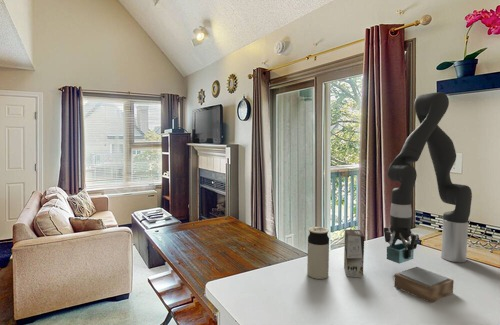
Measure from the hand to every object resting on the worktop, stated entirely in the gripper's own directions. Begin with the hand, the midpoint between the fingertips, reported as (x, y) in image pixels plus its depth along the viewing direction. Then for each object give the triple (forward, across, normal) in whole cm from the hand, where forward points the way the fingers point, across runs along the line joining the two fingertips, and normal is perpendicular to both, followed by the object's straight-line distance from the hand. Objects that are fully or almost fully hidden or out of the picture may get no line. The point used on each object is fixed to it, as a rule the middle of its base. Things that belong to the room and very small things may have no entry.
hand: (399, 256), depth 122 cm
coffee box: (+6, +8, +18) cm, 20 cm away
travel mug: (+5, +13, +32) cm, 35 cm away
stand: (+6, -14, +8) cm, 17 cm away
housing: (+1, 0, 0) cm, 1 cm away
